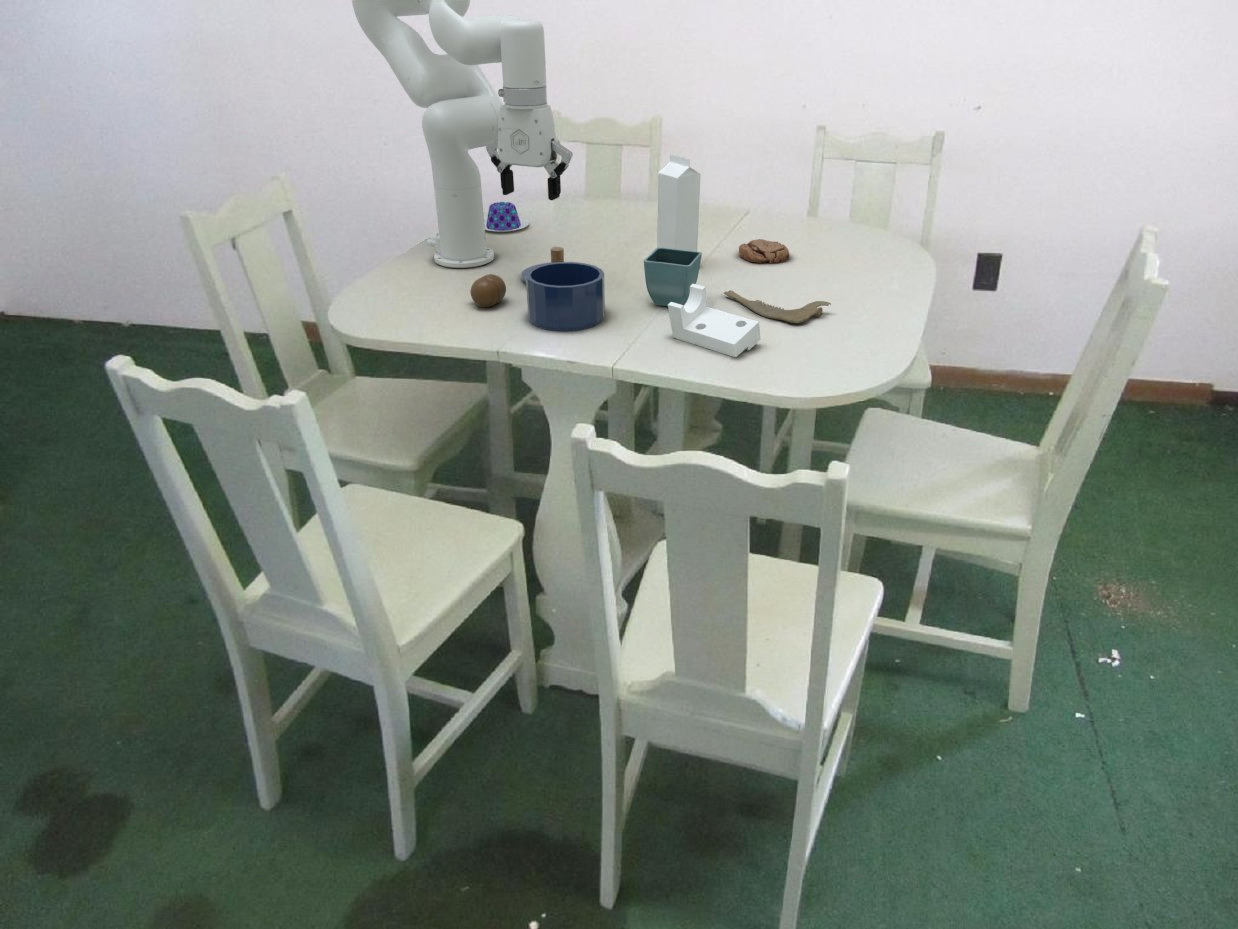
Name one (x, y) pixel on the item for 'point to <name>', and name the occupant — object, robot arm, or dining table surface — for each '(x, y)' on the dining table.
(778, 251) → the cookie
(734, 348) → the bracket
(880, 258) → the dining table surface
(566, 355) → the dining table surface
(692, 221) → the milk
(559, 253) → the lid
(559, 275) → the crock
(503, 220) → the pudding
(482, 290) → the kiwi
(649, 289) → the flower pot
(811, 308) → the jawbone
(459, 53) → the robot arm
